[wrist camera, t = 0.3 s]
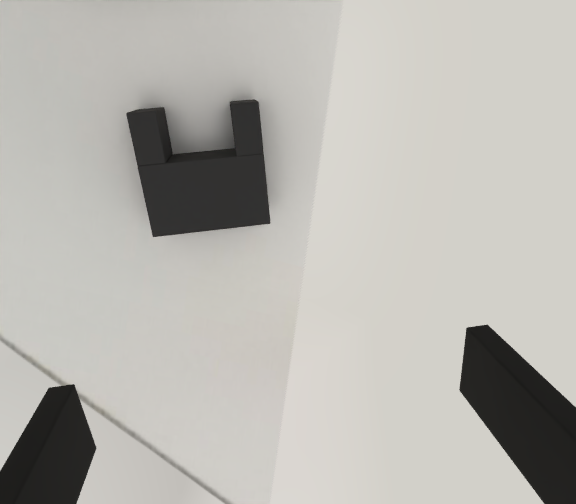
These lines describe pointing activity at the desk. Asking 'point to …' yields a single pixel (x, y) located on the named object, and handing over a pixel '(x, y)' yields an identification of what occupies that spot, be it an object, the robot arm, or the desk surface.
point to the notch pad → (201, 175)
